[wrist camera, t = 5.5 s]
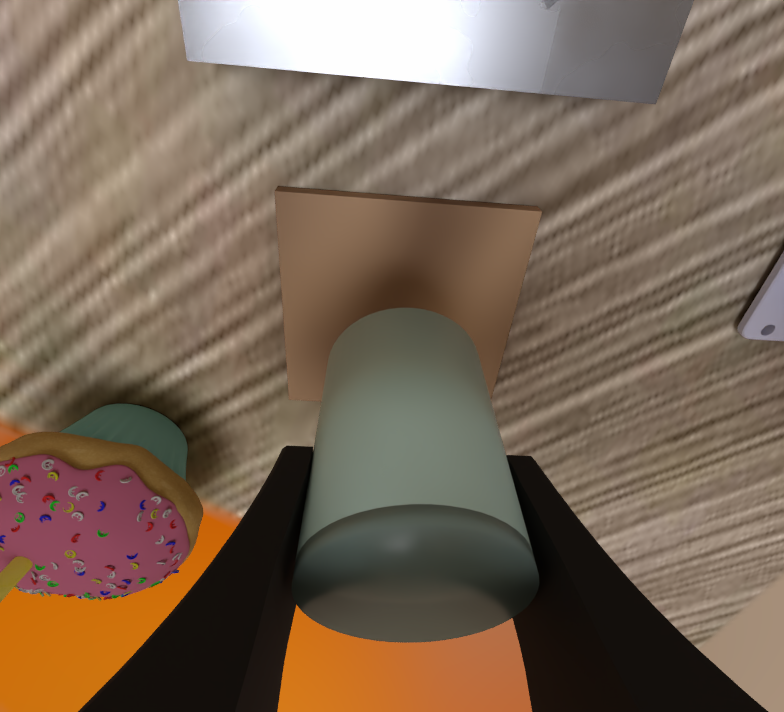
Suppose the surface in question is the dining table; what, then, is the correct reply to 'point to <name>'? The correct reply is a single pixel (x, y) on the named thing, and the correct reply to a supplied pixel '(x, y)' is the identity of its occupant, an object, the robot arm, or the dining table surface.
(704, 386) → the dining table surface
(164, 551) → the cupcake
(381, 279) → the coaster
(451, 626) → the cylinder
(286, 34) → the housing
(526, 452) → the dining table surface
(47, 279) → the dining table surface
